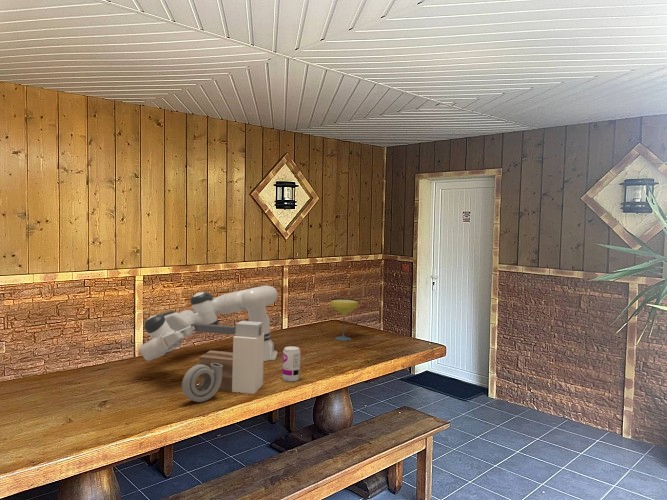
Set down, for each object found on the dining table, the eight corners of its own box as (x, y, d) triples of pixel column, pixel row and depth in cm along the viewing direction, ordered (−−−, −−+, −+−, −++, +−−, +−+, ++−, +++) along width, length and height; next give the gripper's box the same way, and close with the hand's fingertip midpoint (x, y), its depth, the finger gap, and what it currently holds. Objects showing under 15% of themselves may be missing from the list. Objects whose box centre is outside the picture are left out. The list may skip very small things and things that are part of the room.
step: (209, 380, 234) (210, 350, 233) (241, 383, 232) (242, 353, 231) (198, 388, 222) (199, 357, 222) (231, 391, 220) (232, 360, 219)
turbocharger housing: (187, 407, 200) (188, 370, 199) (179, 403, 204) (179, 366, 203) (223, 397, 212) (224, 362, 211) (214, 393, 217) (215, 359, 216)
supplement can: (283, 382, 235) (284, 350, 234) (280, 377, 243) (281, 346, 242) (300, 381, 237) (302, 350, 236) (297, 376, 245) (298, 345, 244)
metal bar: (193, 329, 229) (193, 323, 229) (235, 333, 226) (235, 326, 226) (190, 331, 226) (190, 324, 226) (233, 334, 223) (233, 327, 223)
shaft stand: (241, 383, 232) (243, 319, 230) (262, 385, 230) (264, 321, 228) (231, 391, 220) (233, 324, 218) (254, 394, 218) (255, 326, 216)
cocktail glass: (325, 336, 332) (327, 298, 331) (351, 335, 338) (353, 298, 336) (334, 342, 315) (335, 302, 314) (361, 341, 321) (362, 302, 319)
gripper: (185, 340, 240) (209, 328, 238) (163, 351, 220) (189, 337, 217) (179, 328, 240) (203, 316, 238) (157, 338, 220) (183, 324, 218)
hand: (196, 326), depth 227 cm, fingers closed on metal bar, 3 cm apart
